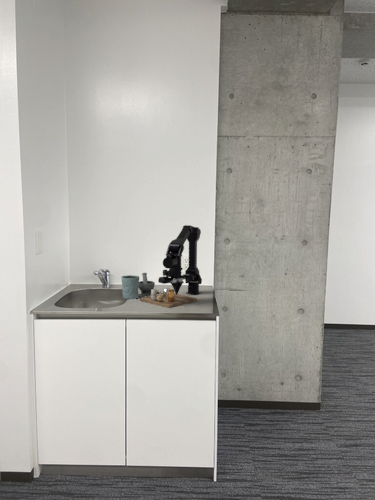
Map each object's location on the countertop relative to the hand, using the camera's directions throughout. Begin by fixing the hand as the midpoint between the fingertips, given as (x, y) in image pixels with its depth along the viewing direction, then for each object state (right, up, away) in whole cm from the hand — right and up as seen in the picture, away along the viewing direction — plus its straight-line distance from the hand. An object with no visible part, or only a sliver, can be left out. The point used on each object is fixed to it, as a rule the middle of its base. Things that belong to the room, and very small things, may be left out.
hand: (176, 294), depth 225 cm
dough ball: (-9, -2, -1) cm, 9 cm away
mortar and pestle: (-19, -2, +23) cm, 30 cm away
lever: (-5, -2, +7) cm, 9 cm away
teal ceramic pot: (-27, -3, +13) cm, 29 cm away
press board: (-4, -4, +6) cm, 9 cm away
